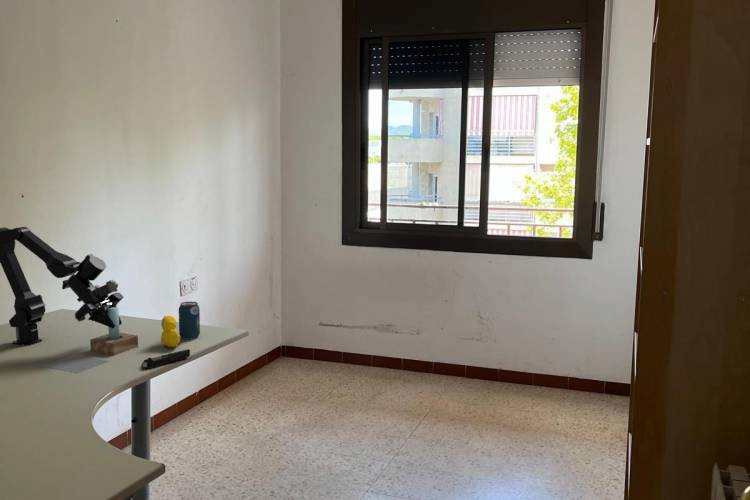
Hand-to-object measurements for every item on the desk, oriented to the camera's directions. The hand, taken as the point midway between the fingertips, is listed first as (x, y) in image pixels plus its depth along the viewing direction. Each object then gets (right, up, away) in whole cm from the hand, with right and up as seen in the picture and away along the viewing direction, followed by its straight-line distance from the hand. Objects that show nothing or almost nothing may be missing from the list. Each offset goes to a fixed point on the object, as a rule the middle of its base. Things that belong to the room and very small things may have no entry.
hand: (117, 325), depth 202 cm
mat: (-7, -10, -14) cm, 18 cm away
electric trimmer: (+19, -11, -10) cm, 24 cm away
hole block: (-1, -8, +1) cm, 8 cm away
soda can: (+18, -6, +17) cm, 26 cm away
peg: (-1, -6, +1) cm, 7 cm away
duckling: (+15, -8, +7) cm, 18 cm away
